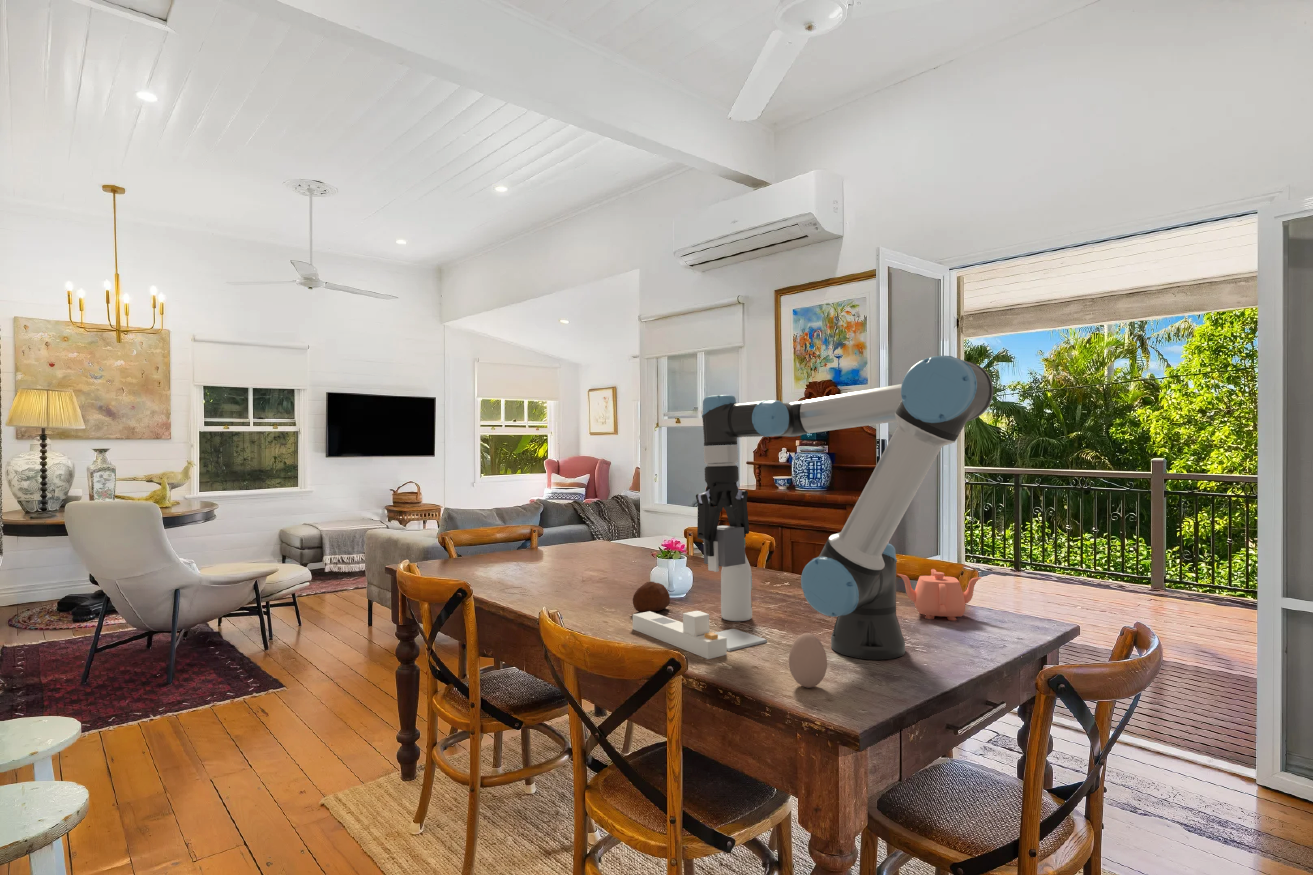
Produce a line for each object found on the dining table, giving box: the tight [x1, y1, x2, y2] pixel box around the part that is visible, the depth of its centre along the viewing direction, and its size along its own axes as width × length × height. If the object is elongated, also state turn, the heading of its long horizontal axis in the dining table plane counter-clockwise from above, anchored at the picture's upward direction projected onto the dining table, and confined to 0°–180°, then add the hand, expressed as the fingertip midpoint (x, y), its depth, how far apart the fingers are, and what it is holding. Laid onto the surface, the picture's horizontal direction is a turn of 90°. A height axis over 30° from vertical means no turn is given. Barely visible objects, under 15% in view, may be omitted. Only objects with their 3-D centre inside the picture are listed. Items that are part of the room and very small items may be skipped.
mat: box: [714, 628, 768, 652], centre depth 158 cm, size 11×11×1 cm
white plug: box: [682, 610, 710, 636], centre depth 152 cm, size 4×4×4 cm
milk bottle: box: [720, 537, 753, 622], centre depth 178 cm, size 8×8×20 cm
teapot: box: [897, 568, 983, 622], centre depth 178 cm, size 14×14×11 cm
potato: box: [632, 581, 671, 613], centre depth 185 cm, size 8×12×8 cm, turn 137°
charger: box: [702, 525, 746, 568], centre depth 158 cm, size 7×6×8 cm
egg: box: [788, 632, 828, 689], centre depth 129 cm, size 7×7×10 cm
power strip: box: [632, 611, 728, 660], centre depth 158 cm, size 28×5×4 cm, turn 35°
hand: (725, 568), depth 158 cm, fingers closed on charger, 6 cm apart
